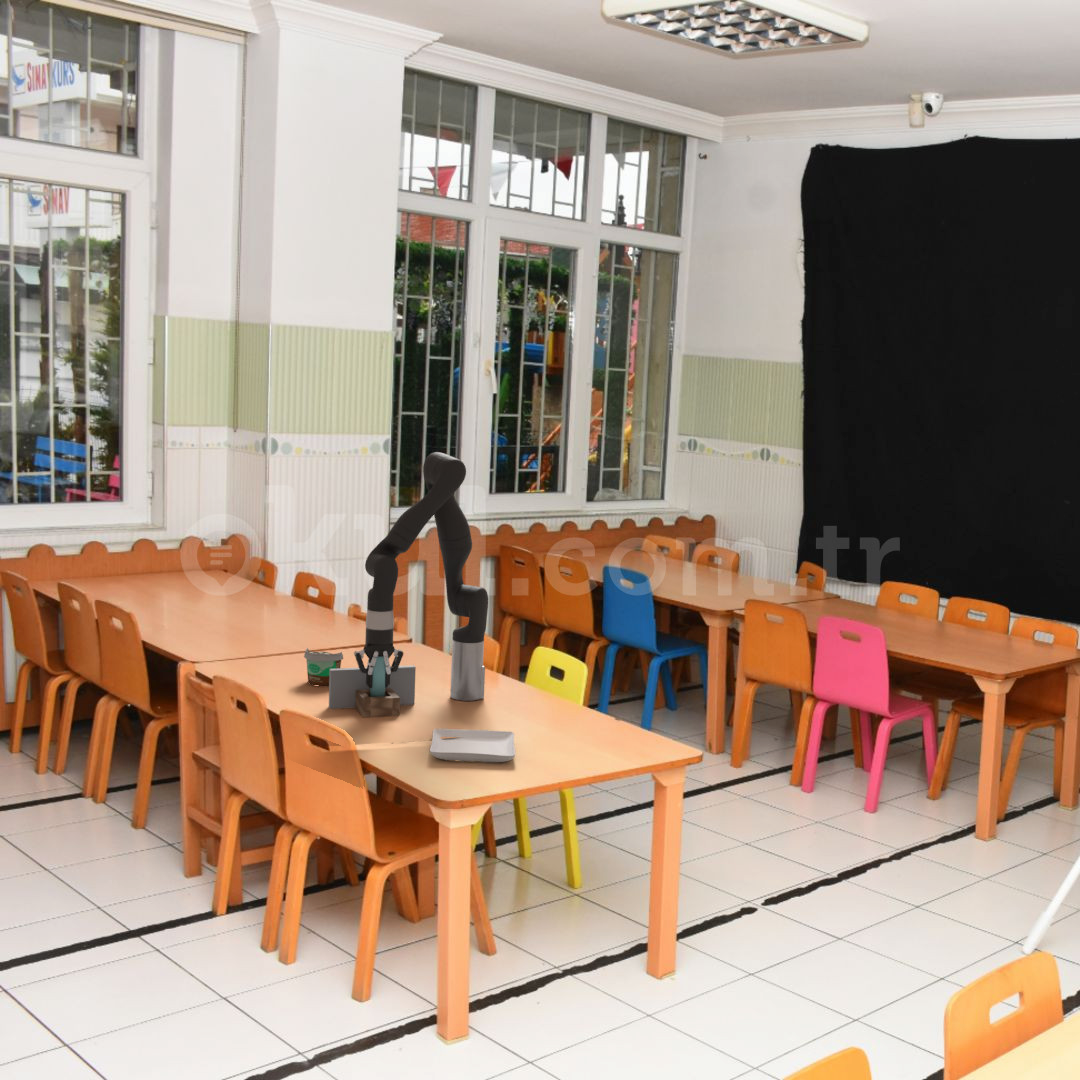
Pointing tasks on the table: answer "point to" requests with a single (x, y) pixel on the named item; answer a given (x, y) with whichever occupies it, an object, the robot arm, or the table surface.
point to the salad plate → (473, 745)
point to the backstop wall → (353, 679)
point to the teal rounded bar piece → (378, 678)
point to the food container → (321, 666)
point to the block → (377, 704)
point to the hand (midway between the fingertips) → (377, 686)
